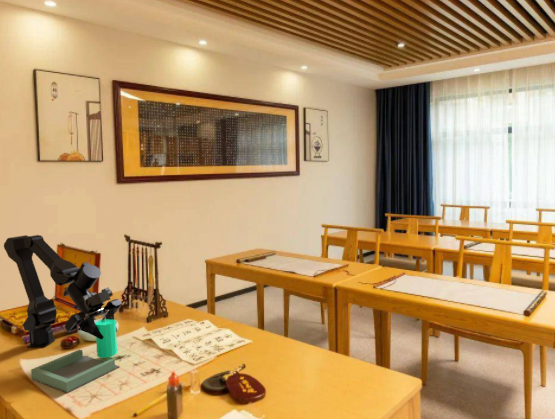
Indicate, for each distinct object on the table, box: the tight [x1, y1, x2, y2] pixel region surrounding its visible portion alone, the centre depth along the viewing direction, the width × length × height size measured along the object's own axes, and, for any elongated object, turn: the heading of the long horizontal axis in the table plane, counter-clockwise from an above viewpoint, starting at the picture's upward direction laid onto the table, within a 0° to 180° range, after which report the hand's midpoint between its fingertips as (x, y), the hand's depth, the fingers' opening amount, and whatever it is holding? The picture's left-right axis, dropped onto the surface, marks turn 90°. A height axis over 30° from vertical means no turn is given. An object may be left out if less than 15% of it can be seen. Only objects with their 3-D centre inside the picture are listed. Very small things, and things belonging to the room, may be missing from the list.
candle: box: [95, 319, 118, 359], centre depth 137 cm, size 6×6×12 cm
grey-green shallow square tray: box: [30, 349, 120, 394], centre depth 128 cm, size 17×17×3 cm
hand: (109, 335), depth 136 cm, fingers closed on candle, 5 cm apart
